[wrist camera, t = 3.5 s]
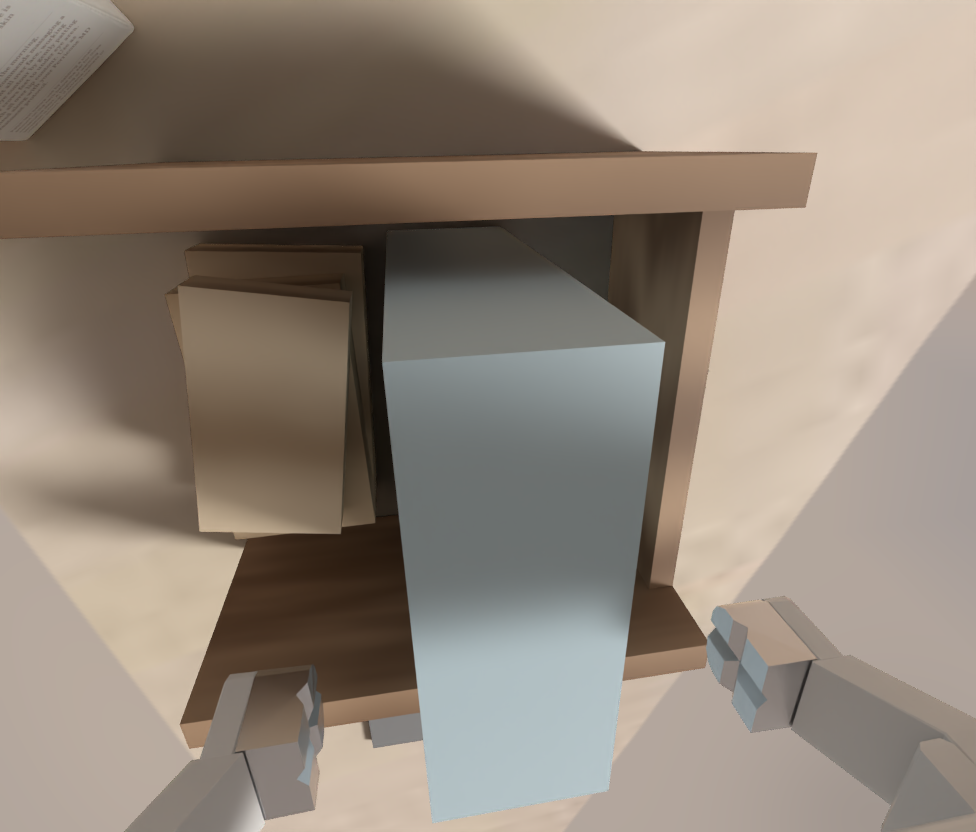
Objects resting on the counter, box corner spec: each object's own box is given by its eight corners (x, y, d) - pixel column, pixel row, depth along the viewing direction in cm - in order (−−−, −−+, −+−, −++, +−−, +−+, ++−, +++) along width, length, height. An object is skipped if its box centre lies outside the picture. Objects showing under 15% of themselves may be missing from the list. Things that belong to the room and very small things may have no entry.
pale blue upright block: (387, 230, 22) (382, 362, 8) (500, 226, 22) (665, 342, 9) (411, 488, 27) (432, 823, 14) (502, 479, 27) (608, 791, 14)
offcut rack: (156, 162, 19) (-42, 173, 11) (643, 151, 22) (817, 152, 13) (255, 550, 27) (189, 748, 18) (609, 510, 29) (704, 667, 20)
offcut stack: (194, 242, 21) (136, 269, 16) (364, 244, 22) (356, 271, 17) (239, 489, 26) (205, 567, 21) (377, 482, 27) (374, 555, 22)
